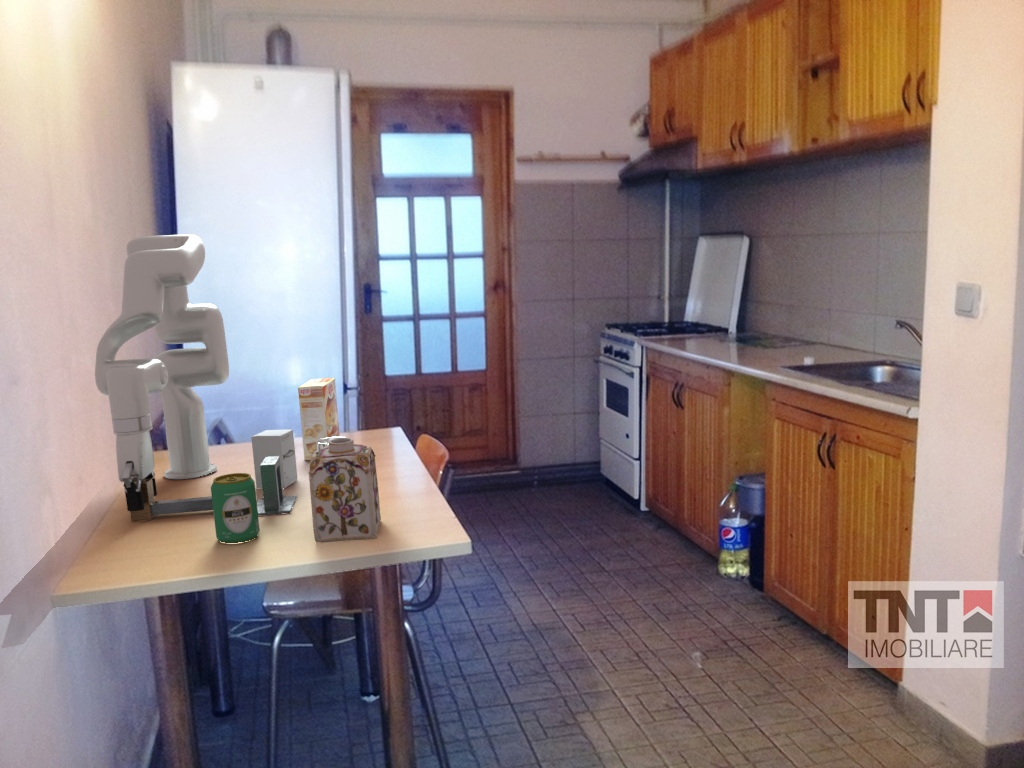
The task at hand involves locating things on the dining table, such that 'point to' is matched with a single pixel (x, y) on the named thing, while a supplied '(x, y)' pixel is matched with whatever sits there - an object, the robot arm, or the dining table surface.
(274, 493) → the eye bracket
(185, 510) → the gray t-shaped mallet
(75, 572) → the dining table surface
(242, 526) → the beverage can
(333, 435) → the coffeecake box
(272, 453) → the supplement box
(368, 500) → the decorative jar
